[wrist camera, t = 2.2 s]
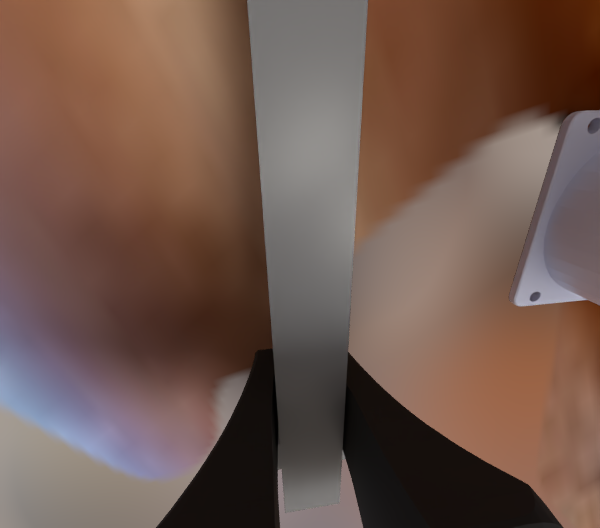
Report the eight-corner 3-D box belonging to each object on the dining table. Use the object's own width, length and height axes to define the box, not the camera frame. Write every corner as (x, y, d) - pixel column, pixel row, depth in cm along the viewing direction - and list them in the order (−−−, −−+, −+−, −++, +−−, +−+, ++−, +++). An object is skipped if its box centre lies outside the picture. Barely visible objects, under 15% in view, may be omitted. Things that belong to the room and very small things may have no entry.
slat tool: (378, -215, 7) (563, -762, 3) (344, 397, 15) (378, 496, 11) (160, -242, 6) (-30, -997, 2) (247, 410, 14) (242, 520, 10)
